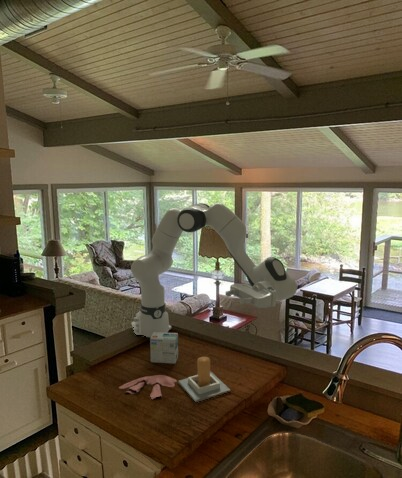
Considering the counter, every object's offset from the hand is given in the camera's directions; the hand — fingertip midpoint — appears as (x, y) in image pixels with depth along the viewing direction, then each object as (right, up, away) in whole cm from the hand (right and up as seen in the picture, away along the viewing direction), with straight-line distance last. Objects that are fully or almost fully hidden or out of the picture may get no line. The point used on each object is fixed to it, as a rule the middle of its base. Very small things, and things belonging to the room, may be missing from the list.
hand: (233, 297), depth 146 cm
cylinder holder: (-11, -32, -7) cm, 34 cm away
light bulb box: (-28, -28, +13) cm, 41 cm away
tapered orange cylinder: (-11, -31, -7) cm, 33 cm away
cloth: (-32, -33, -8) cm, 46 cm away
